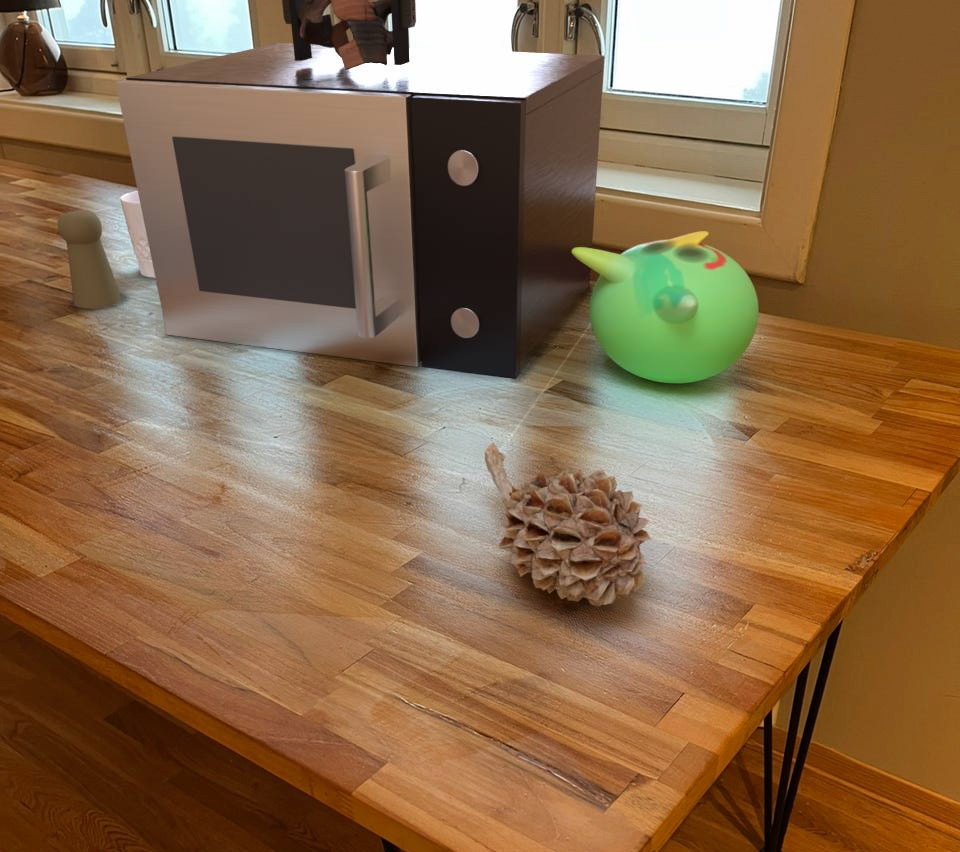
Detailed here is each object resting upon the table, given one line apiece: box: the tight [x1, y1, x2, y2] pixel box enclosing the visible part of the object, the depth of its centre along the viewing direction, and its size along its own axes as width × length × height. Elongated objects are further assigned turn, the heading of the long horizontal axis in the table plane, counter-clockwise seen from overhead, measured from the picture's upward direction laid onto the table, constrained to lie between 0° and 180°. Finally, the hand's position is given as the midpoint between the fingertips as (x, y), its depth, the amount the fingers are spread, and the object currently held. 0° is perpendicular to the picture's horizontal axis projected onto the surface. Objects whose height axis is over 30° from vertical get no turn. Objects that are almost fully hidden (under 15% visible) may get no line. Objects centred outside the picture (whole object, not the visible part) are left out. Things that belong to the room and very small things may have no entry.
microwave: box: [125, 42, 605, 379], centre depth 115 cm, size 35×44×27 cm
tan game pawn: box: [57, 210, 122, 309], centre depth 123 cm, size 6×6×11 cm
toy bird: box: [572, 230, 760, 384], centre depth 101 cm, size 18×17×15 cm
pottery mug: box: [298, 0, 393, 70], centre depth 105 cm, size 12×10×8 cm
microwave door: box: [115, 79, 422, 368], centre depth 102 cm, size 9×33×27 cm, turn 71°
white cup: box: [119, 190, 156, 279], centre depth 134 cm, size 8×8×10 cm
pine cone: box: [484, 441, 652, 607], centre depth 73 cm, size 22×10×10 cm, turn 30°
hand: (352, 61), depth 106 cm, fingers closed on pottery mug, 11 cm apart
